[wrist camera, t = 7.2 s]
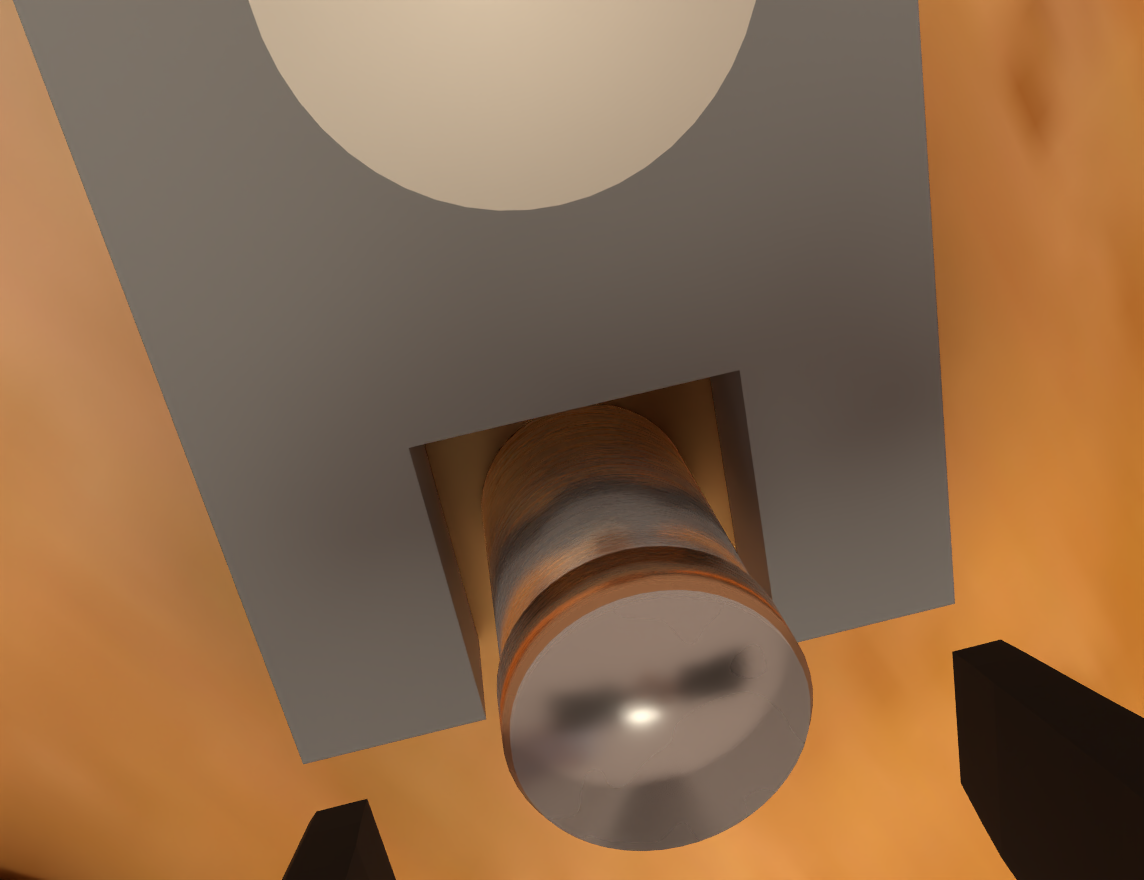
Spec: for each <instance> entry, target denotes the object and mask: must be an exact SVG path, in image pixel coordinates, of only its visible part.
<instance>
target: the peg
mask: <svg viewBox="0 0 1144 880" xmlns="http://www.w3.org/2000/svg"><path fill="white" fill-rule="evenodd" d="M482 518H483V526H484V534H485V542H486V550H487V558H488V566H489V574H490V583H491V591H492V599H493V607H494V615H495V623H496V631H497V639H498V647H499V655H500V663H499V669H498V675H497V698H498V707H499V716H500V724H501V733H502V741H503V748H504V755H505V758H506V762H507V765H508V768H509V771H510V773H511V775H512V777H513V779H514V781H515V783H516V785H517V787H518V788H519V790H520V791H521V792H522V794H523V795H524V796H525V798H526V799H527V800H528V801H529V802H530V803H531V805H532V806H533V807H534V808H535V809H536V810H537V811H538V812H539V813H541V814H542V815H543V816H545V817H546V818H547V819H548V820H549V821H551V822H552V823H553V824H555V825H556V826H557V827H559V828H560V829H562V830H563V831H565V832H567V833H569V834H571V835H572V836H574V837H577V838H579V839H582V840H584V841H587V842H589V843H592V844H596V845H600V846H603V847H607V848H613V849H620V850H631V851H651V850H664V849H669V848H675V847H681V846H685V845H688V844H692V843H695V842H699V841H702V840H704V839H707V838H709V837H712V836H714V835H717V834H719V833H721V832H723V831H725V830H727V829H729V828H731V827H733V826H734V825H736V824H737V823H739V822H741V821H742V820H744V819H745V818H747V817H748V816H750V815H751V814H752V813H753V812H755V811H756V810H757V809H758V808H760V807H761V806H762V805H763V804H764V803H765V802H766V801H767V800H768V799H769V798H770V797H771V796H772V795H773V794H774V793H775V792H776V791H777V790H778V789H779V788H780V786H781V785H782V784H783V783H784V781H785V780H786V779H787V777H788V776H789V774H790V773H791V771H792V769H793V768H794V766H795V764H796V763H797V761H798V758H799V756H800V754H801V752H802V749H803V747H804V744H805V740H806V737H807V734H808V729H809V725H810V721H811V714H812V707H813V688H812V682H811V676H810V671H809V668H808V665H807V662H806V659H805V656H804V654H803V652H802V650H801V648H800V647H799V645H798V643H797V641H796V639H795V638H794V636H793V634H792V632H791V631H790V629H789V627H788V626H787V624H786V622H785V621H784V619H783V617H782V616H781V614H780V612H779V610H778V609H777V607H776V605H775V604H774V602H773V601H772V599H771V598H770V597H769V595H768V594H767V593H766V591H765V590H764V589H763V588H762V587H761V586H760V585H759V584H758V583H757V582H756V581H755V580H754V579H753V578H752V577H751V576H750V575H749V573H748V571H747V570H746V568H745V566H744V564H743V563H742V561H741V559H740V557H739V556H738V554H737V552H736V551H735V549H734V547H733V545H732V544H731V542H730V540H729V538H728V537H727V535H726V533H725V531H724V530H723V528H722V526H721V525H720V523H719V521H718V519H717V518H716V516H715V514H714V512H713V511H712V509H711V507H710V505H709V504H708V502H707V500H706V499H705V497H704V495H703V493H702V492H701V490H700V488H699V486H698V485H697V483H696V481H695V480H694V478H693V476H692V474H691V473H690V471H689V469H688V467H687V466H686V464H685V462H684V460H683V459H682V457H681V455H680V454H679V452H678V450H677V448H676V447H675V445H674V444H673V443H672V441H671V440H670V439H669V437H668V436H667V435H666V434H665V433H664V432H663V431H662V430H661V429H660V428H659V427H657V426H656V425H655V424H653V423H652V422H651V421H650V420H648V419H646V418H644V417H643V416H641V415H639V414H637V413H634V412H632V411H629V410H627V409H624V408H620V407H616V406H612V405H603V404H593V405H589V406H584V407H580V408H576V409H572V410H567V411H563V412H559V413H555V414H550V415H546V416H542V417H538V418H536V419H534V420H532V421H531V422H529V423H528V424H526V425H525V426H524V427H522V428H521V429H519V430H518V431H517V432H516V433H515V434H514V435H513V436H512V437H511V438H510V439H509V440H508V441H507V442H506V443H505V444H504V446H503V447H502V448H501V449H500V451H499V452H498V454H497V455H496V457H495V459H494V460H493V462H492V464H491V466H490V468H489V471H488V473H487V476H486V479H485V483H484V486H483V493H482Z"/></svg>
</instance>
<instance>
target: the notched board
mask: <svg viewBox="0 0 1144 880" xmlns="http://www.w3.org/2000/svg"><path fill="white" fill-rule="evenodd" d="M13 2H14V4H15V7H16V10H17V12H18V15H19V18H20V20H21V23H22V25H23V28H24V31H25V33H26V36H27V39H28V41H29V44H30V46H31V49H32V52H33V54H34V57H35V60H36V62H37V65H38V68H39V70H40V73H41V75H42V78H43V81H44V83H45V86H46V89H47V91H48V94H49V96H50V99H51V102H52V104H53V107H54V110H55V112H56V115H57V117H58V120H59V123H60V125H61V128H62V131H63V133H64V136H65V139H66V141H67V144H68V146H69V149H70V152H71V154H72V157H73V160H74V162H75V165H76V167H77V170H78V173H79V175H80V178H81V181H82V183H83V186H84V189H85V191H86V194H87V196H88V199H89V202H90V204H91V207H92V210H93V212H94V215H95V217H96V220H97V223H98V225H99V228H100V231H101V233H102V236H103V238H104V241H105V244H106V246H107V249H108V252H109V254H110V257H111V260H112V262H113V265H114V267H115V270H116V273H117V275H118V278H119V281H120V283H121V286H122V288H123V291H124V294H125V296H126V299H127V302H128V304H129V307H130V310H131V312H132V315H133V317H134V320H135V323H136V325H137V328H138V331H139V333H140V336H141V338H142V341H143V344H144V346H145V349H146V352H147V354H148V357H149V359H150V362H151V365H152V367H153V370H154V373H155V375H156V378H157V381H158V383H159V386H160V388H161V391H162V394H163V396H164V399H165V402H166V404H167V407H168V409H169V412H170V415H171V417H172V420H173V423H174V425H175V428H176V431H177V433H178V436H179V438H180V441H181V444H182V446H183V449H184V452H185V454H186V457H187V459H188V462H189V465H190V467H191V470H192V473H193V475H194V478H195V480H196V483H197V486H198V488H199V491H200V494H201V496H202V499H203V502H204V504H205V507H206V509H207V512H208V515H209V517H210V520H211V523H212V525H213V528H214V530H215V533H216V536H217V538H218V541H219V544H220V546H221V549H222V552H223V554H224V557H225V559H226V562H227V565H228V567H229V570H230V573H231V575H232V578H233V580H234V583H235V586H236V588H237V591H238V594H239V596H240V599H241V601H242V604H243V607H244V609H245V612H246V615H247V617H248V620H249V623H250V625H251V628H252V630H253V633H254V636H255V638H256V641H257V644H258V646H259V649H260V651H261V654H262V657H263V659H264V662H265V665H266V667H267V670H268V673H269V675H270V678H271V680H272V683H273V686H274V688H275V691H276V694H277V696H278V699H279V701H280V704H281V707H282V709H283V712H284V715H285V717H286V720H287V722H288V725H289V728H290V730H291V733H292V736H293V738H294V741H295V744H296V746H297V749H298V751H299V754H300V757H301V759H302V762H303V764H306V763H310V762H314V761H319V760H323V759H327V758H331V757H335V756H339V755H343V754H347V753H351V752H355V751H359V750H363V749H367V748H371V747H375V746H379V745H383V744H387V743H392V742H396V741H400V740H404V739H408V738H412V737H416V736H420V735H424V734H428V733H432V732H436V731H440V730H444V729H448V728H452V727H456V726H460V725H464V724H469V723H473V722H477V721H481V720H485V719H486V714H485V703H484V692H483V681H482V670H481V659H480V648H479V640H478V636H477V633H476V629H475V626H474V622H473V618H472V615H471V611H470V608H469V604H468V600H467V597H466V593H465V590H464V586H463V583H462V579H461V575H460V572H459V568H458V565H457V561H456V557H455V554H454V550H453V547H452V543H451V539H450V536H449V532H448V529H447V525H446V522H445V518H444V514H443V511H442V507H441V504H440V500H439V496H438V493H437V489H436V486H435V482H434V479H433V475H432V471H431V468H430V464H429V461H428V457H427V453H426V450H425V446H424V444H427V443H431V442H435V441H440V440H444V439H448V438H452V437H457V436H461V435H465V434H469V433H474V432H478V431H482V430H486V429H491V428H495V427H499V426H503V425H508V424H512V423H516V422H520V421H525V420H529V419H533V418H537V417H542V416H546V415H550V414H555V413H559V412H563V411H567V410H572V409H576V408H580V407H584V406H589V405H593V404H597V403H601V402H606V401H610V400H614V399H618V398H623V397H627V396H631V395H635V394H640V393H644V392H648V391H652V390H657V389H661V388H665V387H669V386H674V385H678V384H682V383H687V382H691V381H695V380H699V379H704V378H708V377H710V381H711V387H712V394H713V400H714V407H715V413H716V420H717V426H718V433H719V439H720V445H721V452H722V458H723V465H724V471H725V478H726V484H727V491H728V497H729V503H730V510H731V516H732V523H733V529H734V536H735V542H736V549H737V554H738V556H739V557H740V559H741V561H742V563H743V564H744V566H745V568H746V570H747V571H748V573H749V575H750V576H751V577H752V578H753V579H754V580H755V581H756V582H757V583H758V584H759V585H760V586H761V587H762V588H763V589H764V590H765V591H766V593H767V594H768V595H769V597H770V598H771V599H772V601H773V602H774V604H775V605H776V607H777V609H778V610H779V612H780V614H781V616H782V617H783V619H784V621H785V622H786V624H787V626H788V627H789V629H790V631H791V632H792V634H793V636H794V638H795V639H796V641H797V642H801V641H805V640H809V639H813V638H817V637H821V636H825V635H829V634H833V633H837V632H842V631H846V630H850V629H854V628H858V627H862V626H866V625H870V624H874V623H878V622H882V621H886V620H890V619H894V618H898V617H902V616H906V615H910V614H915V613H919V612H923V611H927V610H931V609H935V608H939V607H943V606H947V605H951V604H955V598H954V581H953V565H952V549H951V532H950V516H949V499H948V483H947V467H946V450H945V434H944V417H943V401H942V385H941V368H940V352H939V336H938V319H937V303H936V286H935V270H934V254H933V237H932V221H931V204H930V188H929V172H928V155H927V139H926V122H925V106H924V90H923V73H922V57H921V41H920V24H919V8H918V0H13Z"/></svg>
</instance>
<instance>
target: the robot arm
mask: <svg viewBox="0 0 1144 880" xmlns="http://www.w3.org/2000/svg"><path fill="white" fill-rule="evenodd" d="M952 653H953V669H954V684H955V700H956V715H957V731H958V746H959V762H960V777H961V784H962V786H963V788H964V790H965V792H966V794H967V795H968V797H969V799H970V801H971V803H972V805H973V807H974V809H975V810H976V812H977V814H978V816H979V818H980V820H981V822H982V824H983V825H984V827H985V829H986V831H987V833H988V834H989V836H990V838H991V840H992V841H993V843H994V845H995V847H996V849H997V850H998V852H999V854H1000V856H1001V857H1002V859H1003V861H1004V862H1005V863H1006V865H1007V866H1008V868H1009V869H1010V871H1011V872H1012V873H1013V875H1014V876H1015V878H1016V879H1017V880H1144V718H1143V717H1141V716H1139V715H1137V714H1135V713H1133V712H1131V711H1129V710H1128V709H1126V708H1124V707H1122V706H1120V705H1118V704H1116V703H1115V702H1113V701H1111V700H1109V699H1107V698H1105V697H1104V696H1102V695H1100V694H1098V693H1096V692H1094V691H1093V690H1091V689H1089V688H1087V687H1086V686H1084V685H1082V684H1080V683H1078V682H1077V681H1075V680H1073V679H1071V678H1069V677H1068V676H1066V675H1064V674H1062V673H1060V672H1059V671H1057V670H1055V669H1053V668H1052V667H1050V666H1048V665H1046V664H1044V663H1043V662H1041V661H1039V660H1037V659H1036V658H1034V657H1032V656H1030V655H1028V654H1027V653H1025V652H1023V651H1021V650H1019V649H1017V648H1016V647H1014V646H1012V645H1010V644H1008V643H1006V642H1004V641H1002V640H997V641H993V642H989V643H985V644H981V645H977V646H973V647H969V648H965V649H961V650H958V651H954V652H952ZM282 880H396V879H395V876H394V873H393V870H392V867H391V865H390V862H389V859H388V856H387V853H386V851H385V848H384V845H383V842H382V839H381V836H380V834H379V831H378V828H377V825H376V822H375V820H374V817H373V814H372V811H371V808H370V805H369V803H368V800H367V799H365V800H361V801H357V802H353V803H349V804H345V805H341V806H337V807H333V808H329V809H325V810H321V811H317V812H316V813H315V815H314V816H313V818H312V819H311V821H310V822H309V824H308V826H307V829H306V831H305V833H304V835H303V837H302V839H301V841H300V843H299V845H298V847H297V850H296V852H295V854H294V856H293V858H292V860H291V862H290V864H289V866H288V868H287V870H286V872H285V874H284V877H283V879H282Z"/></svg>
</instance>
